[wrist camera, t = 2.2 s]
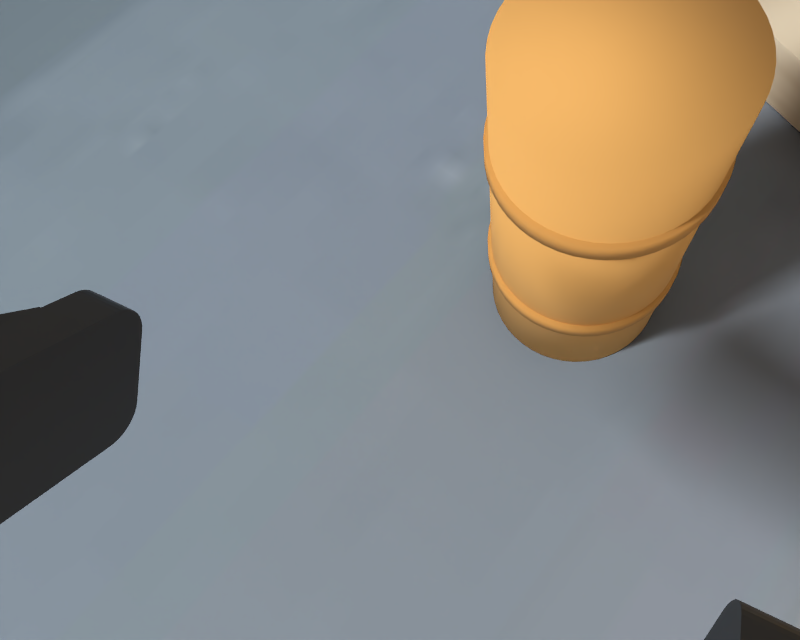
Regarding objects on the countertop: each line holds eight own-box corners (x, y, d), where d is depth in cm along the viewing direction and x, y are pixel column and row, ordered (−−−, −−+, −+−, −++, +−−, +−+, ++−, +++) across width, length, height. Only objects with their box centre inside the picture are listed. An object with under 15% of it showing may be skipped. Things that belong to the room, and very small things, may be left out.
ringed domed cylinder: (457, 269, 24) (424, 35, 14) (587, 182, 25) (646, -107, 15) (558, 398, 23) (604, 236, 12) (696, 301, 23) (850, 67, 13)
